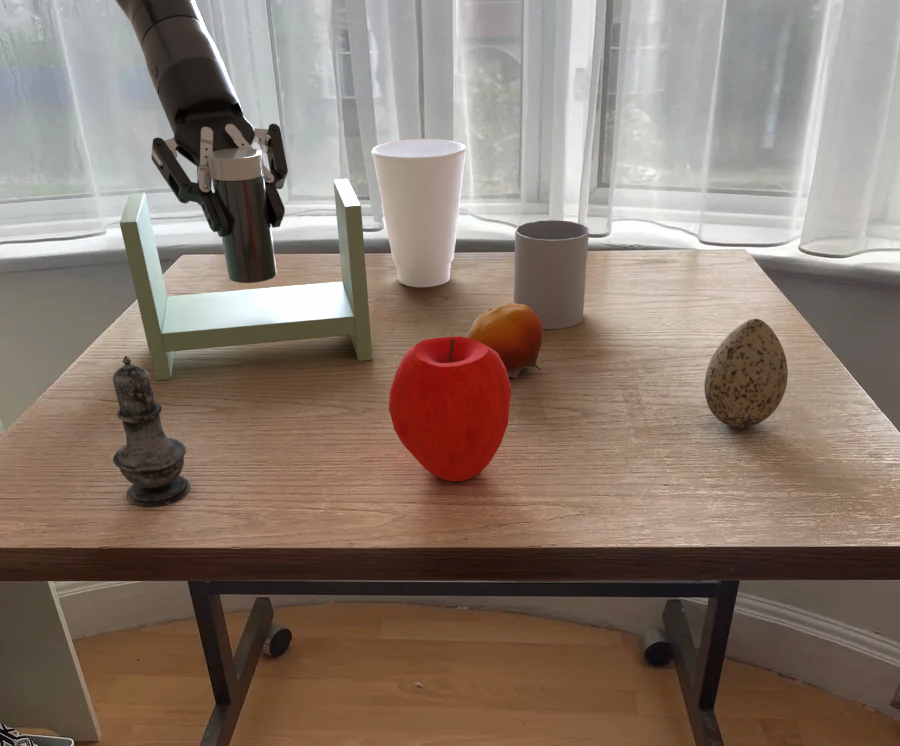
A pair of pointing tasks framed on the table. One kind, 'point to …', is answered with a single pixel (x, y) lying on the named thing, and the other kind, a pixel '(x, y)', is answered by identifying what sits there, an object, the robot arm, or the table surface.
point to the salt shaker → (146, 443)
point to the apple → (451, 405)
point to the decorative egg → (746, 375)
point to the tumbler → (244, 213)
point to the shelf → (249, 296)
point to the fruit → (510, 335)
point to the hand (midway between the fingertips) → (251, 226)
